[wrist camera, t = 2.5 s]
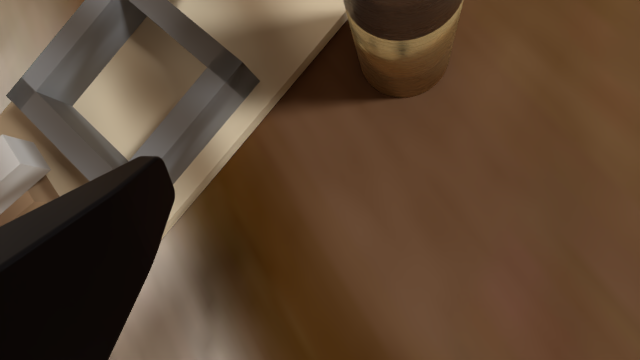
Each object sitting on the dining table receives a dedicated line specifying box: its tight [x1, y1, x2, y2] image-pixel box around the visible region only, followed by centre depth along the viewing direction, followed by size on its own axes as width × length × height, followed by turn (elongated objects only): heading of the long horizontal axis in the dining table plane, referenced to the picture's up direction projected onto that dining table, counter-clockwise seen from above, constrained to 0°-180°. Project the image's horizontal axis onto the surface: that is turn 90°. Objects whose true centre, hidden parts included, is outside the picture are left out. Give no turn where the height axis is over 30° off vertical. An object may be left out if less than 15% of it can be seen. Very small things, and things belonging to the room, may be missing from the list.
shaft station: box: [0, 0, 348, 240], centre depth 22 cm, size 22×12×5 cm, turn 139°
